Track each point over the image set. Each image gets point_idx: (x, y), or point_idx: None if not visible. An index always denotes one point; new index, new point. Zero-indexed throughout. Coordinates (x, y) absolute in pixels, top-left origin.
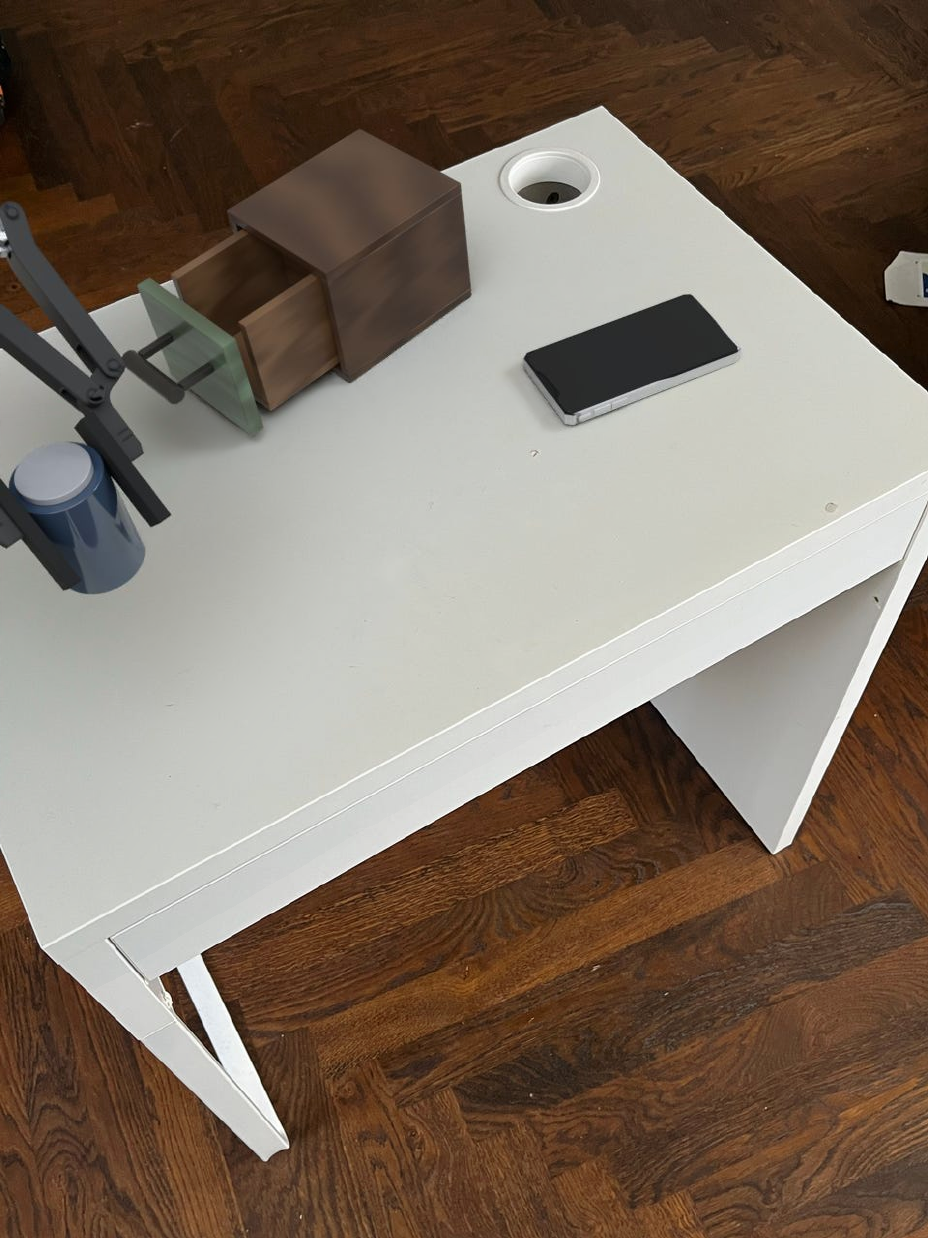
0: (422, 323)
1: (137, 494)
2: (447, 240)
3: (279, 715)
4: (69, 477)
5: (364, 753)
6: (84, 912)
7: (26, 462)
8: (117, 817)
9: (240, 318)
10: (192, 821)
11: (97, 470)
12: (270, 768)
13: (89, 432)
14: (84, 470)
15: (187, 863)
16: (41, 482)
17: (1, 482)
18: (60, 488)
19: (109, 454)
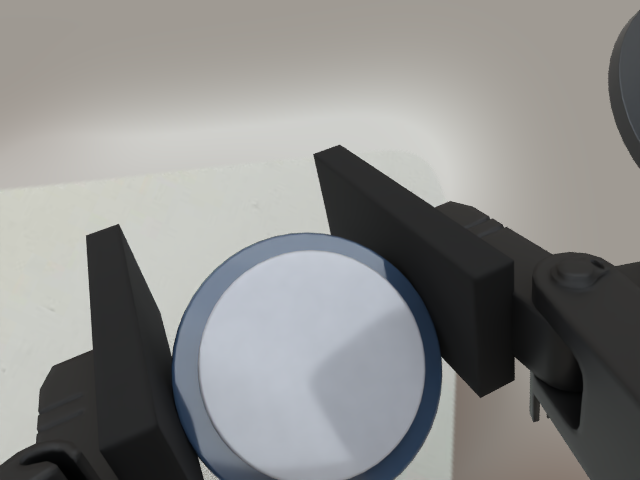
0: None
1: (129, 267)
2: None
3: (158, 280)
4: (272, 307)
5: (88, 197)
6: (398, 156)
7: (385, 429)
8: None
9: None
10: (283, 199)
11: (195, 332)
12: (190, 222)
13: (156, 399)
14: (225, 316)
15: (298, 160)
16: (351, 326)
17: (462, 264)
18: (303, 276)
19: (134, 327)
